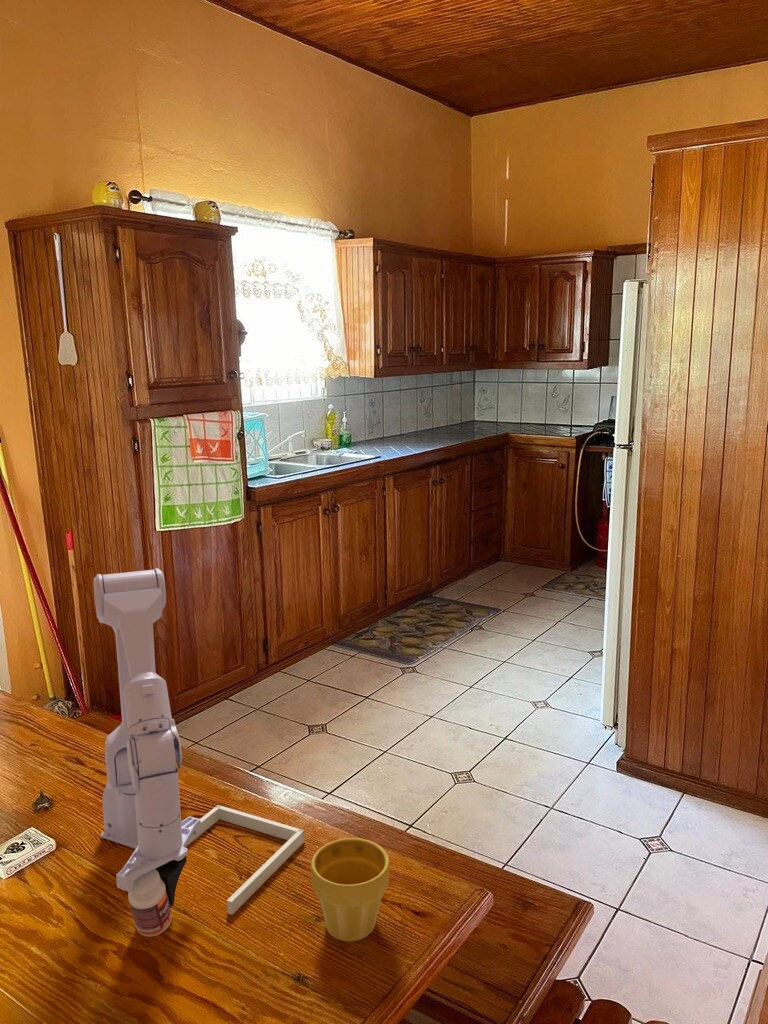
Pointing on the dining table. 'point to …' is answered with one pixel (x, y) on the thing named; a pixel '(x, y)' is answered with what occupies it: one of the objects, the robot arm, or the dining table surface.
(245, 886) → the white u-shaped open frame
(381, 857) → the plant pot
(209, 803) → the dining table surface
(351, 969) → the dining table surface
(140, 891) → the pill bottle
